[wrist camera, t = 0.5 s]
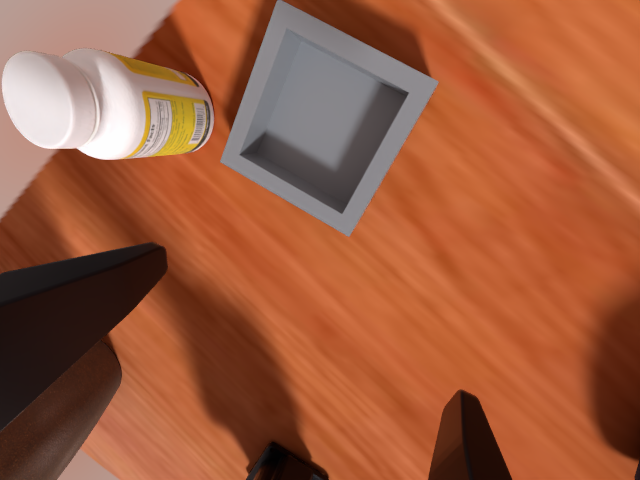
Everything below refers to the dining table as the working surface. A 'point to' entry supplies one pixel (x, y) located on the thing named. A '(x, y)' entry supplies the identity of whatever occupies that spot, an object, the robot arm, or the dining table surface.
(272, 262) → the dining table surface
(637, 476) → the portable speaker
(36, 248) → the dining table surface
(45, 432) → the plant pot
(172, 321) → the dining table surface
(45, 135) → the supplement bottle
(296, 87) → the can holder
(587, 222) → the dining table surface
